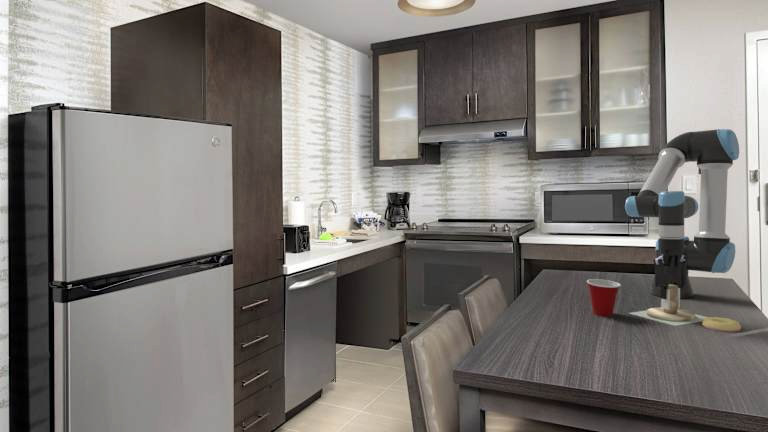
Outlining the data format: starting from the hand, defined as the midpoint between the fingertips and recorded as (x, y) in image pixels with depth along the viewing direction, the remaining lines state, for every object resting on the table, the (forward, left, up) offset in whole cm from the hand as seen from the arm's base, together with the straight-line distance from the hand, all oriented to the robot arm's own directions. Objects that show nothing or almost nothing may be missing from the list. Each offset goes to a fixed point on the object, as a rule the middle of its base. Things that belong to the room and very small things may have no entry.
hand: (670, 307), depth 173 cm
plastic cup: (+17, -12, -4) cm, 21 cm away
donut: (-2, +16, -4) cm, 17 cm away
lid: (0, 0, -3) cm, 3 cm away
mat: (0, 0, -4) cm, 4 cm away
